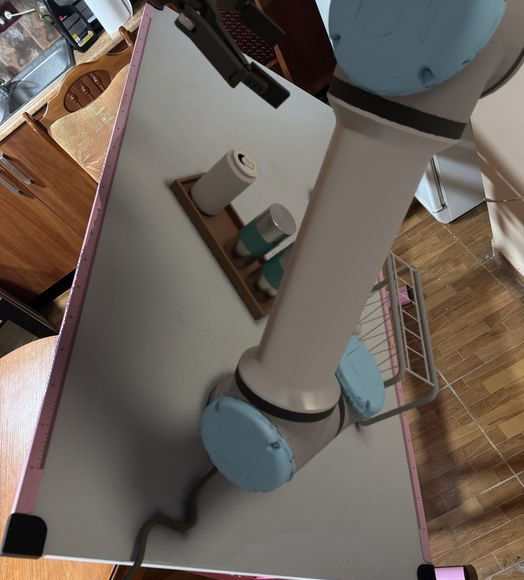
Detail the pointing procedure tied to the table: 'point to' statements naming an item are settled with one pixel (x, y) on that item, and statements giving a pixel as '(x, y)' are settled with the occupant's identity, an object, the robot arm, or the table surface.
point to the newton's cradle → (398, 336)
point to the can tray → (221, 240)
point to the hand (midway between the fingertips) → (281, 69)
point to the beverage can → (225, 181)
